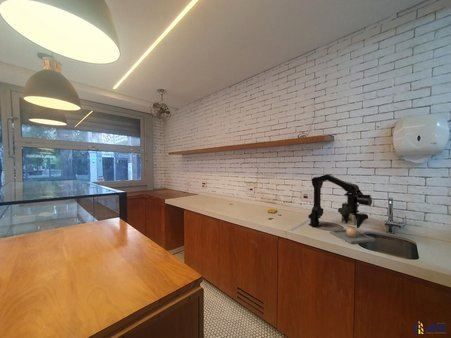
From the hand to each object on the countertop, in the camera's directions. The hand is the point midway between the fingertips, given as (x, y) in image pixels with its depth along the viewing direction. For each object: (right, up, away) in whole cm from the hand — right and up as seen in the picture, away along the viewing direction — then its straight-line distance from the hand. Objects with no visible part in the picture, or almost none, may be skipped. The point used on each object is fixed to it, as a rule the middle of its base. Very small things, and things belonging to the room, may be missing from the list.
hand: (351, 225), depth 125 cm
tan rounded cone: (0, -8, 0) cm, 8 cm away
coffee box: (+17, -7, +29) cm, 34 cm away
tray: (0, -8, 0) cm, 8 cm away
